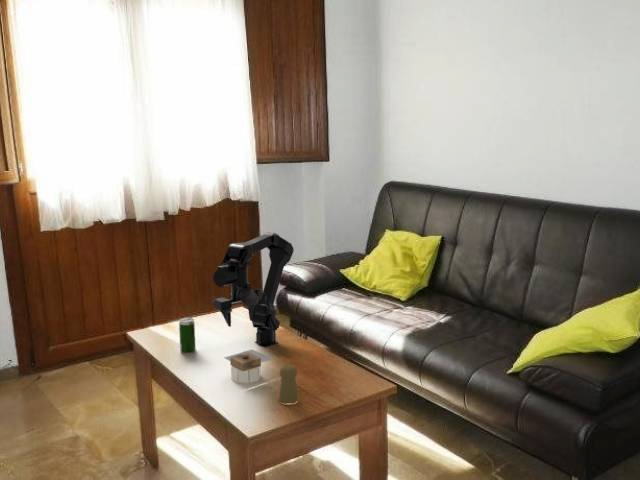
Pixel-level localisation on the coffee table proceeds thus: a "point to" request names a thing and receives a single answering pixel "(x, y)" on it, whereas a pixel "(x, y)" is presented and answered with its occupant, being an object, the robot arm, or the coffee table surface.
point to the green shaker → (288, 384)
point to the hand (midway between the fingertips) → (240, 323)
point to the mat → (263, 357)
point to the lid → (245, 361)
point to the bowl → (245, 375)
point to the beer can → (187, 335)
